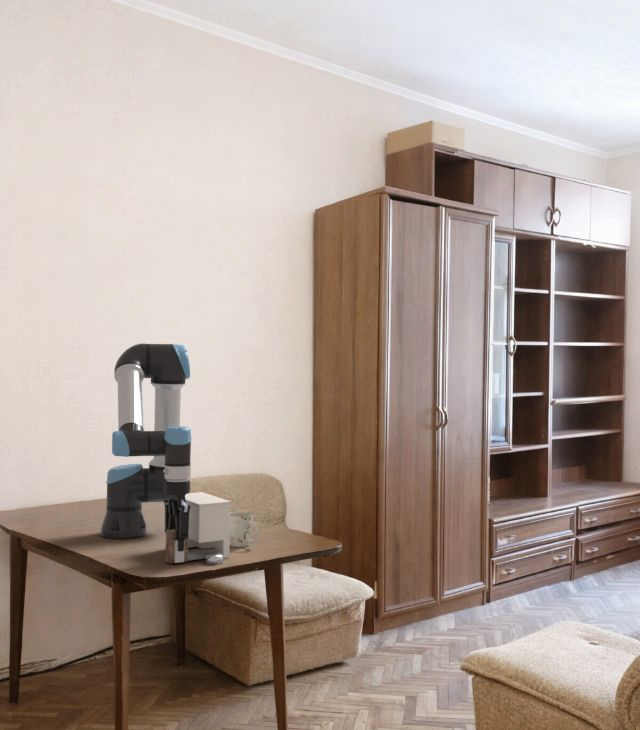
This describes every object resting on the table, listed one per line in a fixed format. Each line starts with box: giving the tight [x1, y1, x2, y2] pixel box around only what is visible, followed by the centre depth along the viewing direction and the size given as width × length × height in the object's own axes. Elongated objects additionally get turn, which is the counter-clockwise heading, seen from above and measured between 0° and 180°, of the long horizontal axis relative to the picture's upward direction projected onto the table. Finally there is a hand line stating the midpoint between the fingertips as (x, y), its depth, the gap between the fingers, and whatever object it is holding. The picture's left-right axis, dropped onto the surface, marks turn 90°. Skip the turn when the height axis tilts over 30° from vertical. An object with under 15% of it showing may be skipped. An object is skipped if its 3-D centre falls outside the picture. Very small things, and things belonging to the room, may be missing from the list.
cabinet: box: [185, 491, 232, 559], centre depth 241 cm, size 20×10×17 cm, turn 34°
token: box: [205, 553, 224, 566], centre depth 229 cm, size 5×5×2 cm
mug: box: [230, 511, 259, 548], centre depth 251 cm, size 8×13×10 cm, turn 51°
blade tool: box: [165, 529, 217, 565], centre depth 231 cm, size 4×15×9 cm, turn 124°
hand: (175, 560), depth 228 cm, fingers closed on blade tool, 4 cm apart
